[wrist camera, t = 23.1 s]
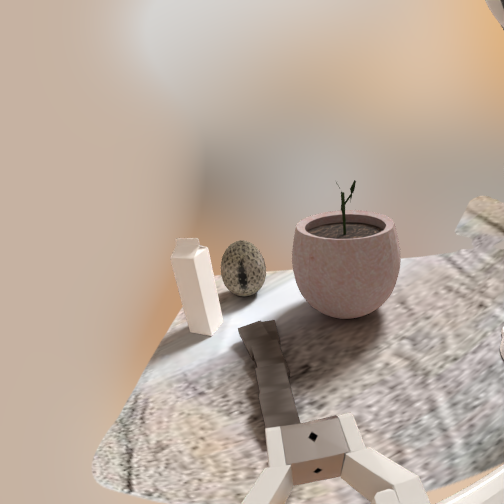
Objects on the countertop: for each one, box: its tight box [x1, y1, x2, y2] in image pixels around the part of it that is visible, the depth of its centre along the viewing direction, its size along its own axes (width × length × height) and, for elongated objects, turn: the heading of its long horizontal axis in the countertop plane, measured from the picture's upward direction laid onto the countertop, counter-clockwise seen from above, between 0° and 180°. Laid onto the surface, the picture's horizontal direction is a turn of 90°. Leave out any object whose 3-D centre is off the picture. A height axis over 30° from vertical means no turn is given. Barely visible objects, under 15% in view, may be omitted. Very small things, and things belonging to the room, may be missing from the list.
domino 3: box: [251, 339, 290, 377], centre depth 53 cm, size 5×2×8 cm
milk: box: [170, 238, 224, 336], centre depth 65 cm, size 6×6×22 cm
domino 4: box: [255, 363, 295, 403], centre depth 47 cm, size 5×2×8 cm
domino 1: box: [261, 320, 280, 344], centre depth 64 cm, size 5×2×8 cm
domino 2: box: [238, 321, 272, 360], centre depth 60 cm, size 5×2×8 cm
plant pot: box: [292, 181, 400, 319], centre depth 63 cm, size 24×24×30 cm
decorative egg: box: [221, 241, 266, 296], centre depth 80 cm, size 12×12×15 cm
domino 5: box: [258, 388, 300, 429], centre depth 41 cm, size 5×2×8 cm
